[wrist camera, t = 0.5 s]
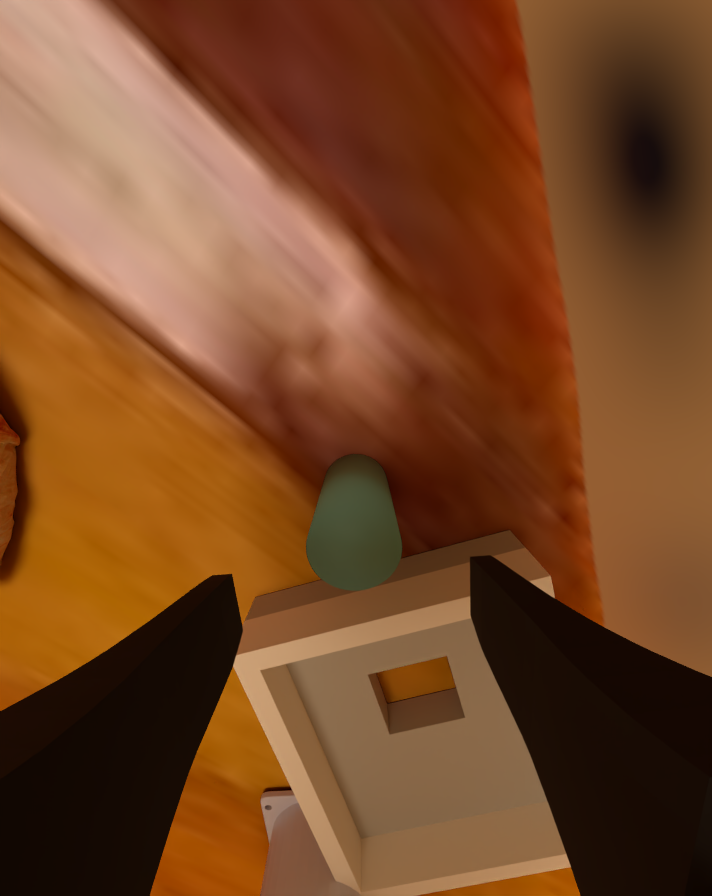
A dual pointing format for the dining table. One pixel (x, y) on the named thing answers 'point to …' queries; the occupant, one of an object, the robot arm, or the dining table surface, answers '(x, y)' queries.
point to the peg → (354, 526)
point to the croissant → (7, 482)
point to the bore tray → (400, 728)
